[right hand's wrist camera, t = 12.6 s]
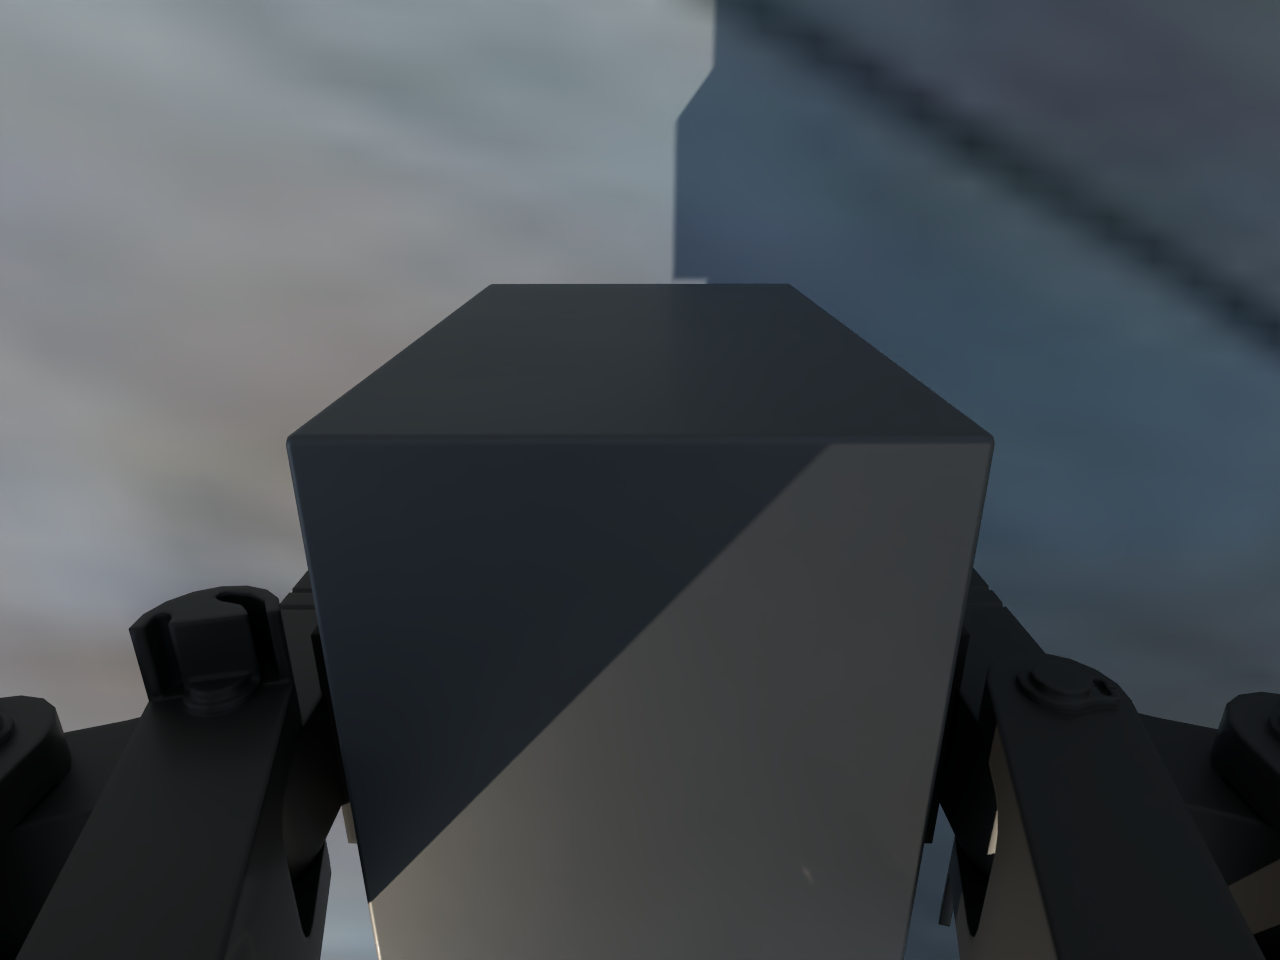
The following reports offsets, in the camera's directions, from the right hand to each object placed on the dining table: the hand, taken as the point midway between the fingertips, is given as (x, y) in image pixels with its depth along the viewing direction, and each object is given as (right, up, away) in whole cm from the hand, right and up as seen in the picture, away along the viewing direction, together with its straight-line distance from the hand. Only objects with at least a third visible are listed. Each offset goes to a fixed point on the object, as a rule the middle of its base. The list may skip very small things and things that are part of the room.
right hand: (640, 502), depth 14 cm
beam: (0, -9, +4) cm, 10 cm away
